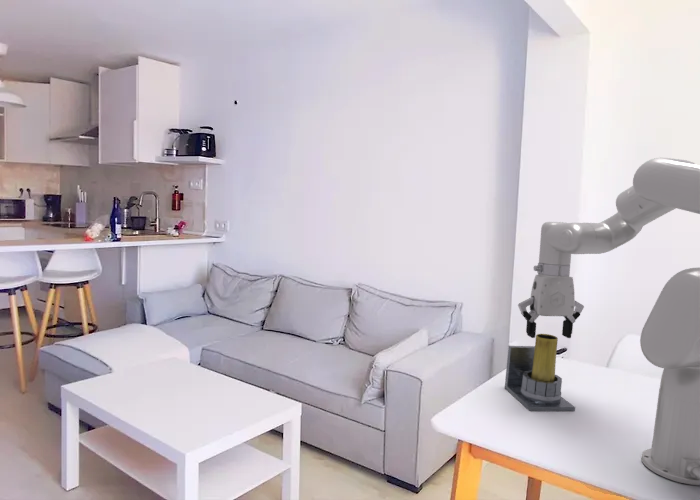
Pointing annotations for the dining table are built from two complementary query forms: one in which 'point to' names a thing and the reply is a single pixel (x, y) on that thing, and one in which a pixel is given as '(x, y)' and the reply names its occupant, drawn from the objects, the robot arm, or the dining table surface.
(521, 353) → the cup bracket
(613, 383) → the dining table surface
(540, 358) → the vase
